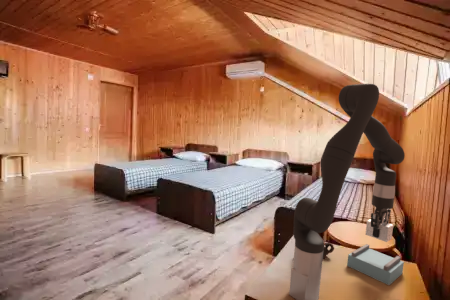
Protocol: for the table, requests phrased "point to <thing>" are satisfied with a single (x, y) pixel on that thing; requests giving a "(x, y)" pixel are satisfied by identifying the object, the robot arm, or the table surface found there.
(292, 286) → the robot arm
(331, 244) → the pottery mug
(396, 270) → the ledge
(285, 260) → the table surface
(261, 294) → the table surface
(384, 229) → the block
